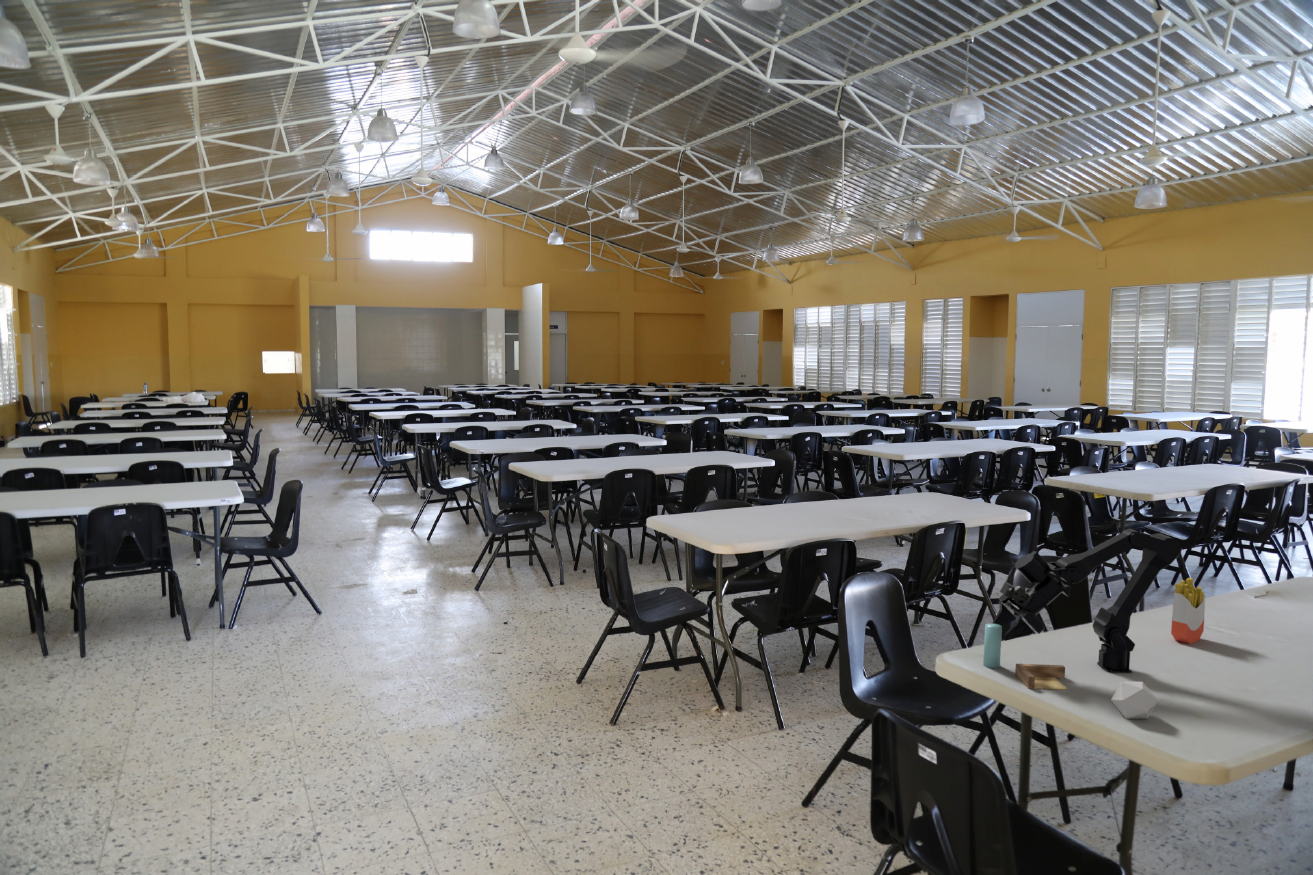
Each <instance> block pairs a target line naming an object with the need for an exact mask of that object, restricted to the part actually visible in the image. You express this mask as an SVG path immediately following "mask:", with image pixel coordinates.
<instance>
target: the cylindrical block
mask: <svg viewBox="0 0 1313 875" xmlns="http://www.w3.org/2000/svg"><path fill="white" fill-rule="evenodd" d="M1002 628H1003V626H1001V625H998V624H992V622H991V623H985V624H984V642H983V666H984V667H986V668H988V669H1000V668H1001V655H1002V654H1001V653H1002V651H1001V650H1002V649H1001V648H1002V634H1003V633H1002V632H1003V629H1002Z"/></svg>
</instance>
